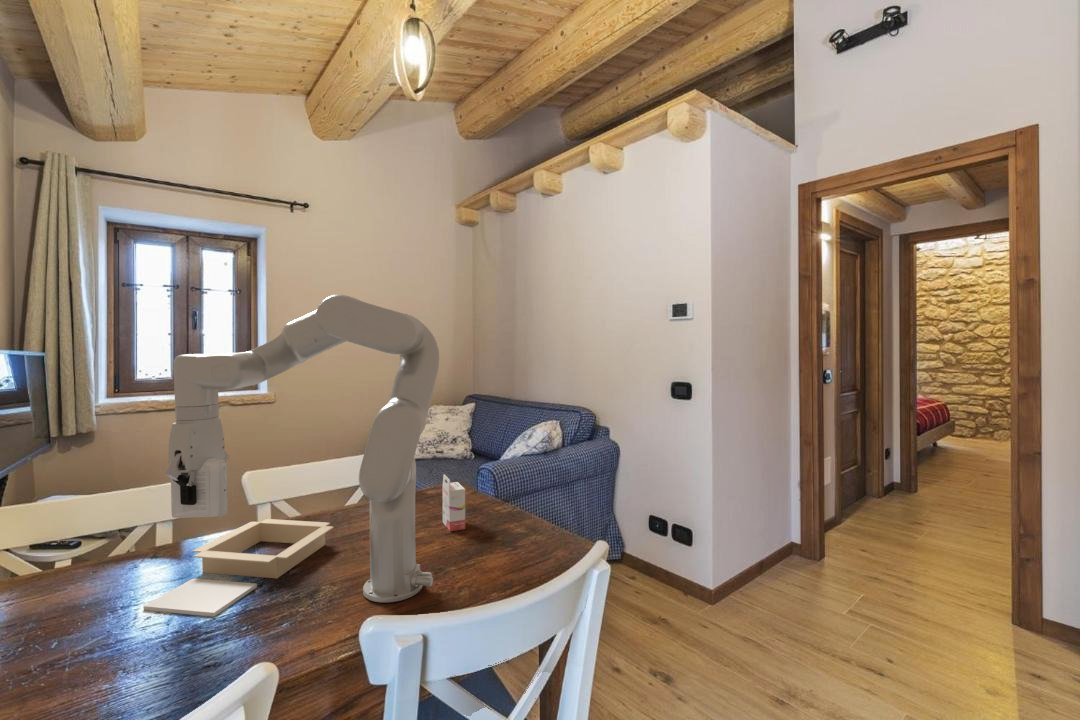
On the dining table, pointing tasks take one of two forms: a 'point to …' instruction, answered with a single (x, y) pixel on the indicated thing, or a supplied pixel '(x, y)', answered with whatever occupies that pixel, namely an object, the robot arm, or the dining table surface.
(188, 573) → the dining table surface
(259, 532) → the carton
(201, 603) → the mat
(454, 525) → the ink cartridge box
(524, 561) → the dining table surface
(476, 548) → the dining table surface
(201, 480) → the photo printer
